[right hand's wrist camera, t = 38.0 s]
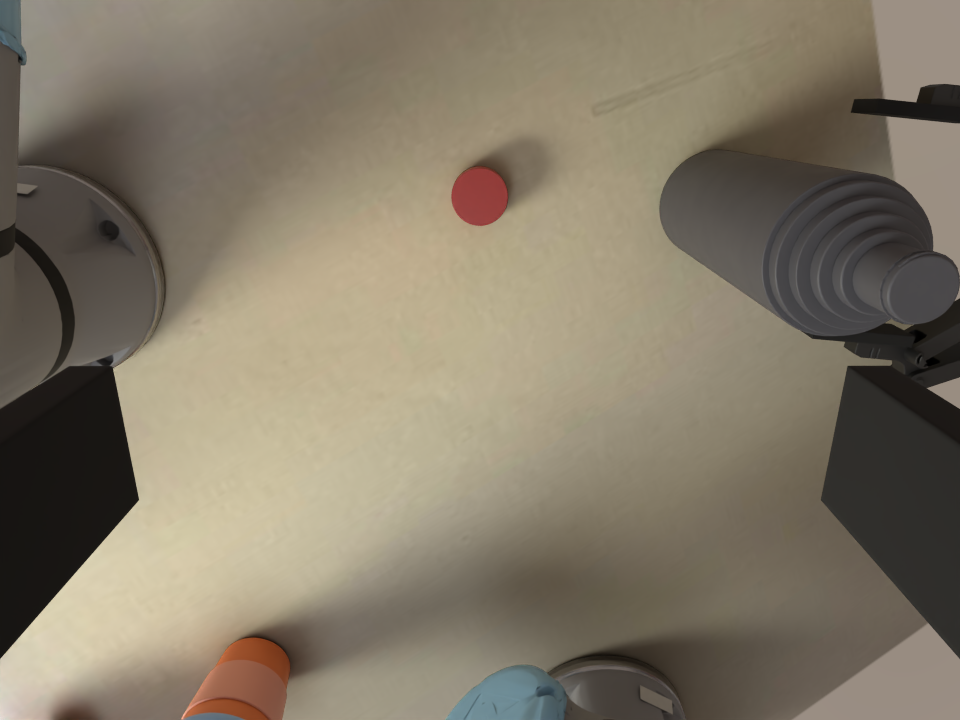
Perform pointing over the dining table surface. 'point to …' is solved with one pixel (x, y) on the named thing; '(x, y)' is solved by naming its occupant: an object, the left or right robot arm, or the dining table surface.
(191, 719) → the cup with straw
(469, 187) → the cap
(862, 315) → the bottle
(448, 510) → the dining table surface
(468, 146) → the dining table surface
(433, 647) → the dining table surface
